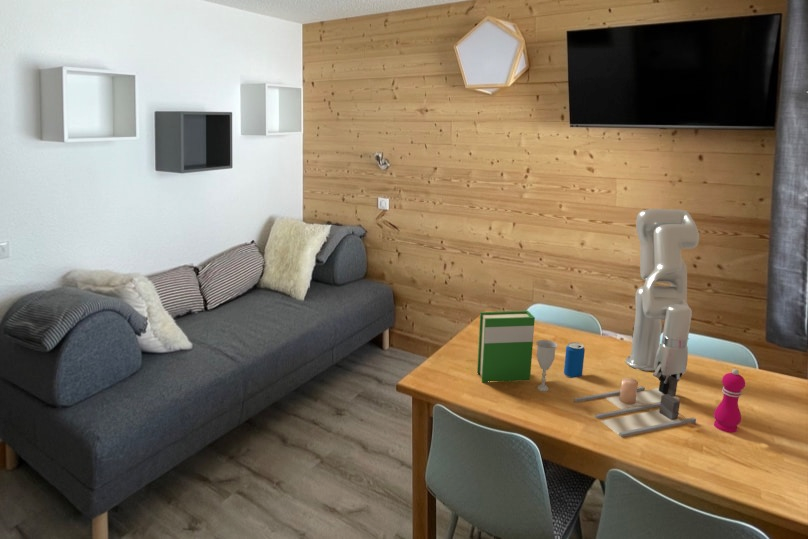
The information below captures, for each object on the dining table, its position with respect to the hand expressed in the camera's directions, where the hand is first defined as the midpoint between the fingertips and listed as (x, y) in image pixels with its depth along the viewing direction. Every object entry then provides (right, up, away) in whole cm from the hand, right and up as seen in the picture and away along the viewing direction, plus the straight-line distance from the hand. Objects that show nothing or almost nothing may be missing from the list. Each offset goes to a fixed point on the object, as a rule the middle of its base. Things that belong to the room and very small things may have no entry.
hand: (667, 391), depth 188 cm
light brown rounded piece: (-16, -2, -5) cm, 17 cm away
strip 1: (-10, -2, -3) cm, 11 cm away
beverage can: (-27, +2, +16) cm, 32 cm away
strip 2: (-16, -6, -17) cm, 25 cm away
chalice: (-42, -1, +3) cm, 42 cm away
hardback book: (-53, +2, +14) cm, 55 cm away
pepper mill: (+9, -8, -19) cm, 22 cm away
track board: (-16, -5, -11) cm, 21 cm away
